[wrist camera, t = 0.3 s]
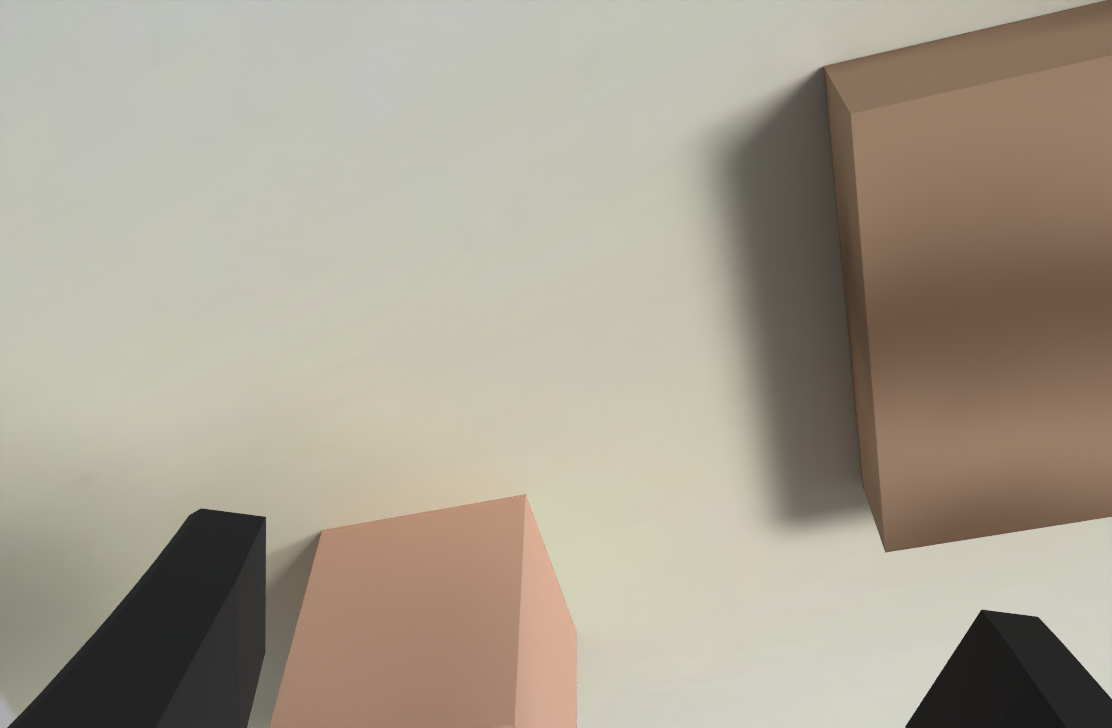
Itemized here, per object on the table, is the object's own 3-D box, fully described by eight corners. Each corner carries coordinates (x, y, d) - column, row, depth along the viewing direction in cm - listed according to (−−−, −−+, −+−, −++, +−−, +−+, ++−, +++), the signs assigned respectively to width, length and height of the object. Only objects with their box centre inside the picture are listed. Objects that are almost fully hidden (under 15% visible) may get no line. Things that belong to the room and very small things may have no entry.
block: (576, 628, 26) (577, 859, 21) (393, 656, 27) (354, 886, 22) (525, 493, 23) (514, 724, 18) (322, 529, 24) (260, 760, 19)
